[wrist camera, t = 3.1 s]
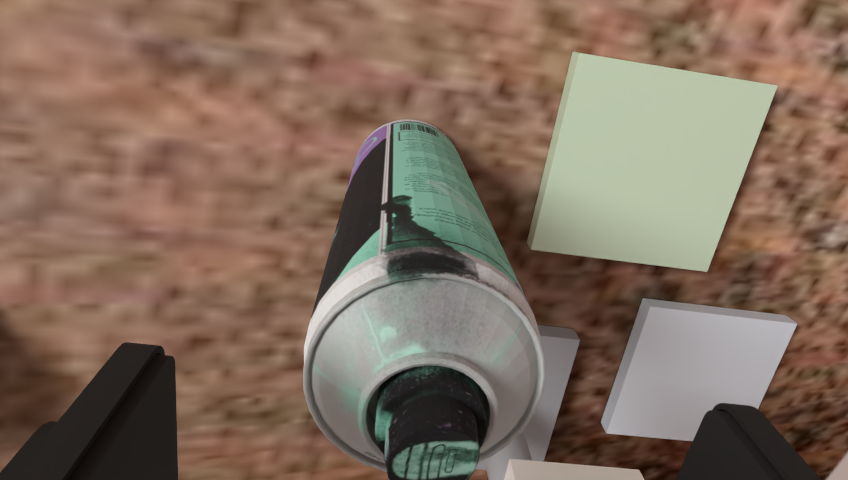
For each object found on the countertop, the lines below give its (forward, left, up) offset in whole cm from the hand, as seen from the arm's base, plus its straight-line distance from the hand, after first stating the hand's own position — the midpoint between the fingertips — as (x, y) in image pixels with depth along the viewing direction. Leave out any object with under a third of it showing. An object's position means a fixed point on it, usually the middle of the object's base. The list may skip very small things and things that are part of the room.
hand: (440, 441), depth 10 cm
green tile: (+2, -12, -20) cm, 23 cm away
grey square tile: (-10, -19, -20) cm, 29 cm away
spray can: (0, 0, -20) cm, 20 cm away
